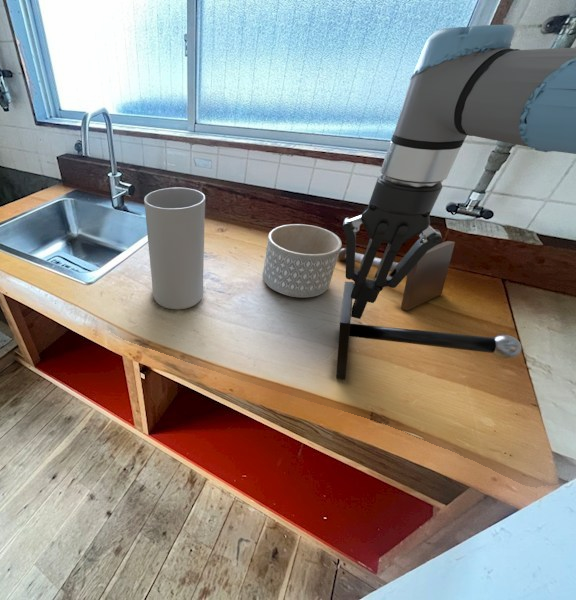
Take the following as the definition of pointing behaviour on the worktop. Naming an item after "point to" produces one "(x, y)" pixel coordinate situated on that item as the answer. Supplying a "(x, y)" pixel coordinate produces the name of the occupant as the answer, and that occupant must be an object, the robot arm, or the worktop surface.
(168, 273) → the cylinder vase
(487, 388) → the worktop surface
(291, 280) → the planter
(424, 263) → the paper towel stand
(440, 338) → the black holder
